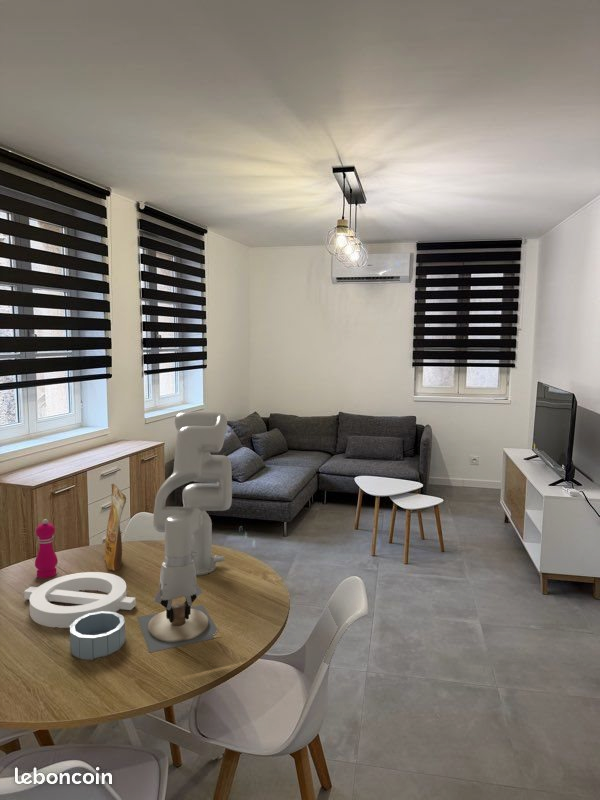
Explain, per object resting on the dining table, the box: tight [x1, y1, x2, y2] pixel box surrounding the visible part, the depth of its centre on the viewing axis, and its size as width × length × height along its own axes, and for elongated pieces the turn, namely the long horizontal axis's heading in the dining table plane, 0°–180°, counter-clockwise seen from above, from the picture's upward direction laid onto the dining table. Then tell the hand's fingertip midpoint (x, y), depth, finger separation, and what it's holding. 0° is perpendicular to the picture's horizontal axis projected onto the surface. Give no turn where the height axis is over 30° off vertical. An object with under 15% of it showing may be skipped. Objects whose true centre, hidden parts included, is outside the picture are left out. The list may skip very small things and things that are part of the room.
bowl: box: [69, 611, 126, 661], centre depth 150 cm, size 14×14×6 cm
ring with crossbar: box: [23, 571, 137, 629], centre depth 172 cm, size 28×28×5 cm
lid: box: [148, 602, 208, 642], centre depth 160 cm, size 17×17×6 cm
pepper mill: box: [34, 518, 58, 579], centre depth 192 cm, size 7×7×20 cm
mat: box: [137, 604, 219, 653], centre depth 160 cm, size 20×20×1 cm
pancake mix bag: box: [103, 483, 127, 572], centre depth 203 cm, size 7×19×28 cm, turn 24°
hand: (178, 618), depth 160 cm, fingers closed on lid, 4 cm apart
